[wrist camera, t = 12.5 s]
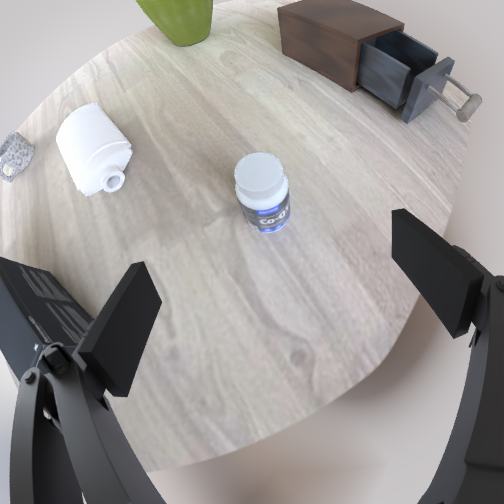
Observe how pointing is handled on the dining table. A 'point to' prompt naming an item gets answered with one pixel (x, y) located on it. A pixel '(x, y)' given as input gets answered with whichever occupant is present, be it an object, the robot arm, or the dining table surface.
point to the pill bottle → (263, 191)
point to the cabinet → (331, 35)
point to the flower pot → (180, 19)
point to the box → (35, 316)
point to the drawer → (408, 75)
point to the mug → (15, 154)
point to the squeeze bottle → (93, 150)
